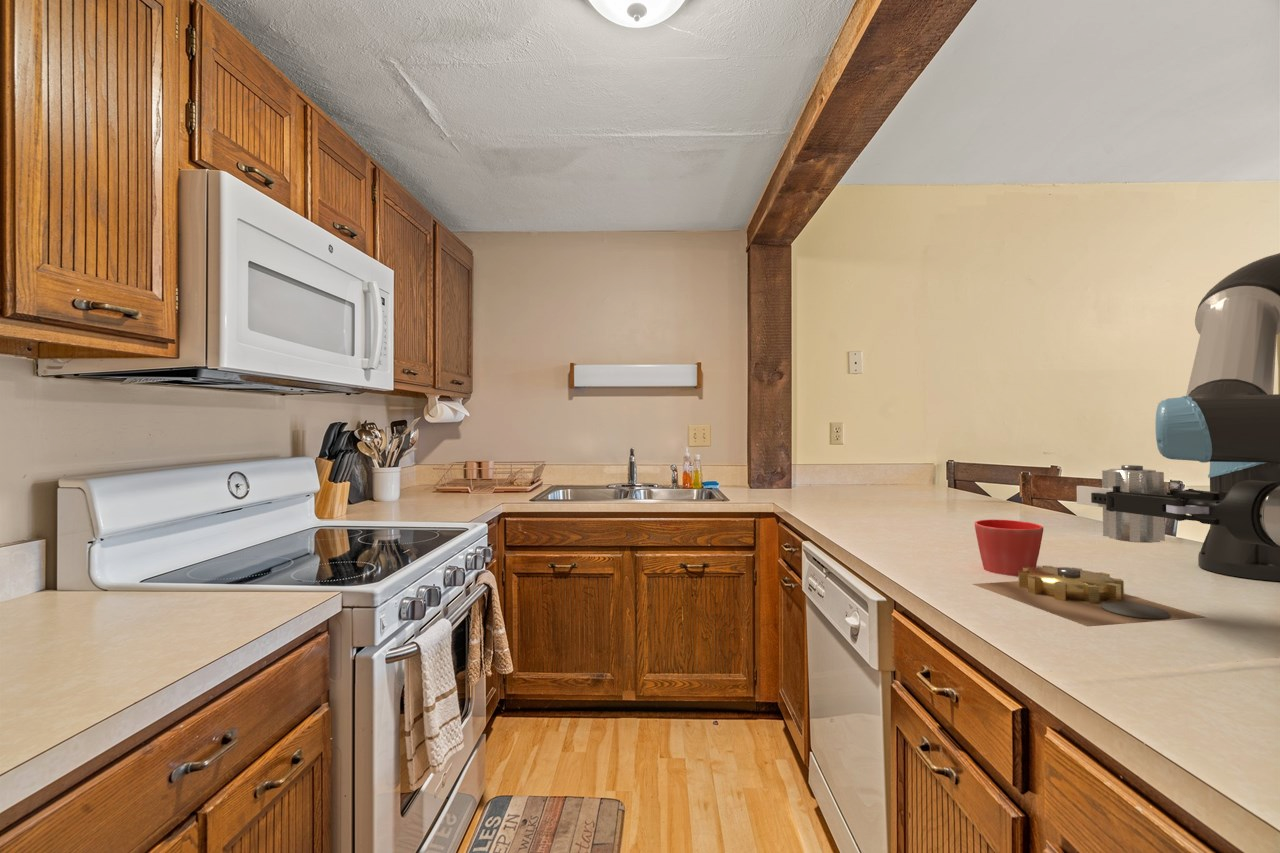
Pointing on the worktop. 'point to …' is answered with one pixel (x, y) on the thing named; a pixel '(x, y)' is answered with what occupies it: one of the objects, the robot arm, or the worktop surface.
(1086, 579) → the brass gear
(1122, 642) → the worktop surface
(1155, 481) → the grey pinion
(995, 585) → the gear board
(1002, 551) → the flower pot
